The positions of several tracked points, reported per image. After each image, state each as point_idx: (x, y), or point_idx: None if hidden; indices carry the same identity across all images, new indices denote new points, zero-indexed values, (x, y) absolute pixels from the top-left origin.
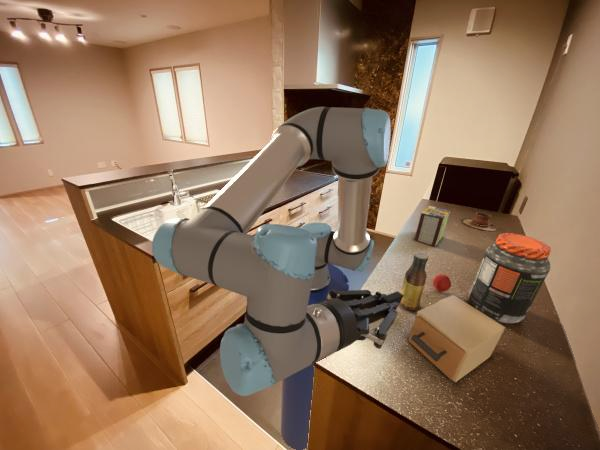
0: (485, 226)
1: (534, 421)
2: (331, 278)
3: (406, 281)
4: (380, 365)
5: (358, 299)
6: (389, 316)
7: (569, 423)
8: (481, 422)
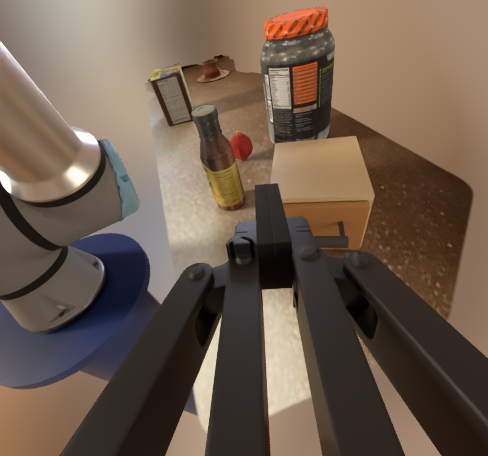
0: (218, 74)
1: (437, 213)
2: (104, 258)
3: (211, 171)
4: (284, 323)
5: (190, 359)
6: (418, 325)
7: (448, 188)
8: (423, 266)
